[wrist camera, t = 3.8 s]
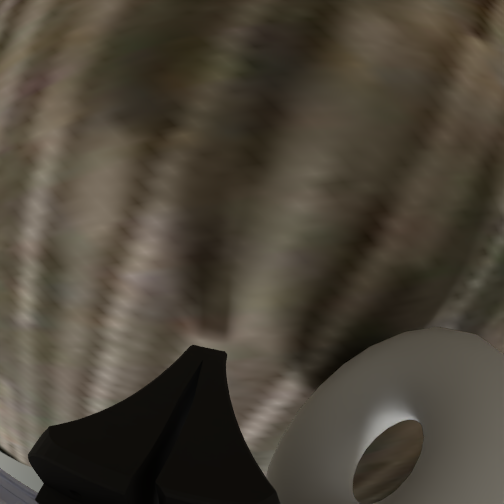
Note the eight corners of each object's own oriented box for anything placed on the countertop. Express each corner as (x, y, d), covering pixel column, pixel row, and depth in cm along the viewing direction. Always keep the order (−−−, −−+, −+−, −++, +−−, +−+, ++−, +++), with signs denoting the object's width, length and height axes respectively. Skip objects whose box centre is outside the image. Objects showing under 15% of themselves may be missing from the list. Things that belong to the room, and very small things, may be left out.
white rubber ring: (425, 264, 11) (596, 468, 1) (463, 313, 11) (587, 486, 2) (253, 408, 14) (225, 608, 4) (303, 437, 14) (302, 613, 5)
